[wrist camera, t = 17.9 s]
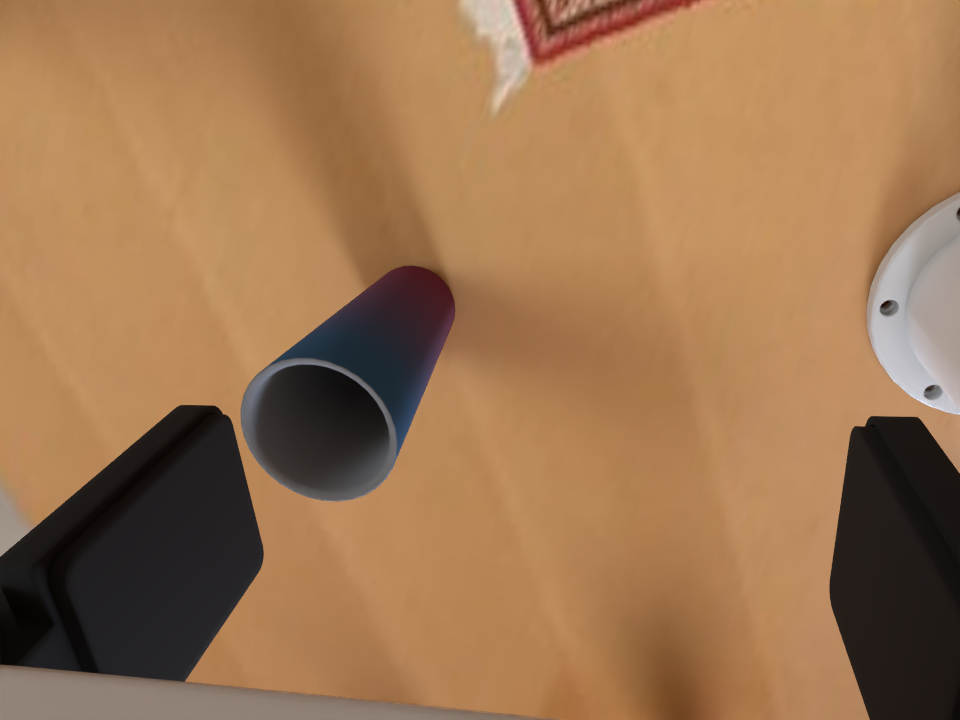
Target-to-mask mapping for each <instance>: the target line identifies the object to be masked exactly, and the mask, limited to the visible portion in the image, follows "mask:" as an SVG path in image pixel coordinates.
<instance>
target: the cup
mask: <svg viewBox="0 0 960 720" xmlns="http://www.w3.org/2000/svg"><path fill="white" fill-rule="evenodd" d="M454 316H455V304H454V299H453V296H452V294H451V292H450V290H449V288H448V286H447V285H446V284H445V283H444V281H443V280H442V279H441V278H439V277H438V276H437V275H436V274H434V273H433V272H431V271H429V270H427V269H424V268H421V267H416V266H403V267H399V268H396V269H394V270H391V271H390V272H388V273H387V274H386V275H384V276H383V277H382V278H380V279H379V280H378V281H377V282H375V283H374V284H373V285H371V286H370V287H369V288H368V289H366V290H365V291H364V292H362V293H361V294H360V295H359V296H357V297H356V298H355V299H353V300H352V301H351V302H350V303H348V304H347V305H346V306H344V307H343V308H342V309H340V310H339V311H338V312H337V313H335V314H334V315H333V316H331V317H330V318H329V319H328V320H326V321H325V322H324V323H322V324H321V325H320V326H319V327H317V328H316V329H315V330H313V331H312V332H311V333H310V334H308V335H307V336H306V337H304V338H303V339H302V340H301V341H299V342H298V343H297V344H295V345H294V346H293V347H292V348H290V349H289V350H288V351H286V352H285V353H284V354H283V355H281V356H280V357H279V358H277V359H276V360H275V361H273V362H272V363H271V364H270V365H268V366H267V367H266V368H264V369H263V370H262V371H261V372H259V373H258V374H257V375H256V376H255V378H254V379H253V380H252V381H251V382H250V384H249V385H248V387H247V390H246V392H245V394H244V396H243V401H242V406H241V426H242V430H243V434H244V438H245V440H246V442H247V445H248V447H249V449H250V451H251V453H252V454H253V456H254V457H255V459H256V460H257V462H258V463H259V464H260V465H261V467H262V468H263V469H264V470H265V471H266V472H267V473H268V474H269V475H270V476H271V477H273V478H274V479H275V480H276V481H278V482H279V483H280V484H282V485H283V486H285V487H287V488H288V489H290V490H292V491H294V492H296V493H298V494H301V495H303V496H306V497H309V498H313V499H318V500H322V501H345V500H352V499H355V498H358V497H361V496H364V495H366V494H368V493H369V492H371V491H373V490H374V489H376V488H377V487H378V486H379V485H380V484H381V483H382V482H383V481H384V480H385V479H386V478H387V476H388V475H389V473H390V471H391V470H392V468H393V466H394V463H395V461H396V459H397V456H398V454H399V451H400V449H401V446H402V444H403V442H404V439H405V437H406V434H407V432H408V430H409V427H410V425H411V422H412V420H413V418H414V415H415V413H416V410H417V408H418V405H419V403H420V401H421V398H422V396H423V393H424V391H425V389H426V386H427V384H428V381H429V379H430V377H431V374H432V372H433V369H434V367H435V364H436V362H437V360H438V357H439V355H440V352H441V350H442V348H443V345H444V343H445V340H446V338H447V336H448V333H449V331H450V328H451V326H452V323H453V320H454Z"/></svg>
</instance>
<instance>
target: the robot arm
mask: <svg viewBox="0 0 960 720" xmlns="http://www.w3.org/2000/svg"><path fill="white" fill-rule="evenodd" d="M959 208H960V192H958V193H956V194H955V195H953V196H951V197H949V198H947V199H946V200H944V201H942V202H940V203H938V204H937V205H935V206H933V207H932V208H931V209H930V210H928V211H927V212H926V213H924V214H923V215H922V216H921V217H919V218H918V219H917V220H915V221H914V222H913V223H912V224H911V225H910V226H909V227H908V228H907V229H906V230H905V231H904V232H903V233H902V235H901V236H900V237H899V238H898V239H897V240H896V241H895V242H894V243H893V245H892V246H891V248H890V249H889V251H888V252H887V254H886V256H885V257H884V259H883V260H882V262H881V263H880V265H879V268H878V270H877V272H876V275H875V277H874V280H873V282H872V284H871V288H870V293H869V298H868V303H867V330H868V334H869V337H870V341H871V345H872V348H873V350H874V352H875V354H876V356H877V358H878V360H879V361H880V363H881V365H882V367H883V368H884V369H885V370H886V372H887V373H888V374H889V376H890V377H891V378H892V380H893V381H894V382H895V383H896V384H898V385H899V386H900V387H901V388H902V389H903V390H904V391H905V392H906V393H907V394H909V395H910V396H912V397H913V398H915V399H917V400H918V401H920V402H922V403H923V404H925V405H928V406H930V407H933V408H936V409H939V410H942V411H945V412H947V413H952V414H957V415H960V213H959V214H957V211H958V209H959ZM887 300H889V303H888V304H887V305H886V306H881V304H882V303H884V302H885V301H887ZM930 385H931V386H930ZM928 386H930V387H929V388H927V387H928ZM263 555H264V551H263V545H262V541H261V537H260V533H259V529H258V525H257V521H256V517H255V513H254V509H253V505H252V501H251V497H250V493H249V489H248V485H247V481H246V477H245V473H244V469H243V465H242V461H241V457H240V452H239V448H238V444H237V440H236V436H235V432H234V428H233V424H232V422H231V419H230V418H229V417H228V416H227V415H223V414H222V412H221V410H220V409H219V408H218V407H216V406H205V405H180V406H178V407H176V408H175V409H174V410H173V411H171V412H170V413H169V414H168V415H167V416H166V417H164V418H163V419H162V420H161V421H160V422H159V423H157V424H156V425H155V426H154V427H153V428H151V429H150V430H149V431H148V432H147V433H146V434H144V435H143V436H142V437H141V438H140V439H139V440H137V441H136V442H135V443H134V444H133V445H131V446H130V447H129V448H128V449H127V450H126V451H124V452H123V453H122V454H121V455H120V456H119V457H117V458H116V459H115V460H114V461H113V462H111V463H110V464H109V465H108V466H107V467H106V468H104V469H103V470H102V471H101V472H100V473H99V474H97V475H96V476H95V477H94V478H93V479H91V480H90V481H89V482H88V483H87V484H86V485H84V486H83V487H82V488H81V489H80V490H78V491H77V492H76V493H75V494H74V495H73V496H71V497H70V498H69V499H68V500H67V501H66V502H64V503H63V504H62V505H61V506H60V507H58V508H57V509H56V510H55V511H54V512H53V513H51V514H50V515H49V516H48V517H47V518H46V519H44V520H43V521H42V522H41V523H40V524H38V525H37V526H36V527H35V528H34V529H33V530H31V531H30V532H29V533H28V534H27V535H26V536H24V537H23V538H22V539H21V540H20V541H18V542H17V543H16V544H15V545H14V546H13V547H11V548H10V549H9V550H8V551H7V552H6V553H4V554H3V555H2V556H1V557H0V720H560V719H551V718H542V717H532V716H523V715H513V714H504V713H495V712H485V711H475V710H465V709H455V708H445V707H436V706H426V705H416V704H406V703H396V702H386V701H377V700H366V699H356V698H346V697H336V696H326V695H316V694H306V693H296V692H286V691H276V690H266V689H255V688H245V687H234V686H224V685H213V684H203V683H192V682H185V680H186V679H187V677H188V676H189V674H190V673H191V671H192V670H193V668H194V667H195V666H196V664H197V663H198V661H199V660H200V658H201V657H202V655H203V654H204V652H205V651H206V649H207V648H208V646H209V645H210V643H211V642H212V640H213V639H214V637H215V636H216V634H217V633H218V632H219V630H220V629H221V627H222V626H223V624H224V623H225V621H226V620H227V618H228V617H229V615H230V614H231V612H232V611H233V609H234V608H235V606H236V605H237V603H238V602H239V600H240V599H241V598H242V596H243V595H244V593H245V592H246V590H247V589H248V587H249V586H250V584H251V583H252V581H253V580H254V578H255V577H256V575H257V574H258V572H259V570H260V569H261V566H262V563H263ZM830 600H831V606H832V609H833V613H834V615H835V618H836V621H837V624H838V627H839V630H840V633H841V636H842V639H843V642H844V645H845V648H846V651H847V654H848V657H849V660H850V662H851V665H852V668H853V671H854V674H855V677H856V680H857V683H858V686H859V689H860V692H861V695H862V698H863V701H864V704H865V707H866V709H867V712H868V715H869V718H870V720H960V474H959V472H958V471H957V469H956V468H955V467H954V465H953V464H952V462H951V461H950V460H949V458H948V457H947V456H946V454H945V453H944V451H943V450H942V449H941V447H940V446H939V444H938V443H937V442H936V440H935V439H934V438H933V436H932V435H931V433H930V432H929V431H928V429H927V428H926V426H925V425H924V424H923V422H922V421H921V420H920V419H919V418H918V417H884V416H871V417H870V418H869V419H868V420H867V423H866V426H865V427H859V426H855V427H854V428H853V429H852V432H851V436H850V442H849V449H848V456H847V463H846V470H845V477H844V484H843V491H842V498H841V505H840V512H839V519H838V527H837V534H836V541H835V548H834V555H833V562H832V569H831V576H830Z"/></svg>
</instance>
